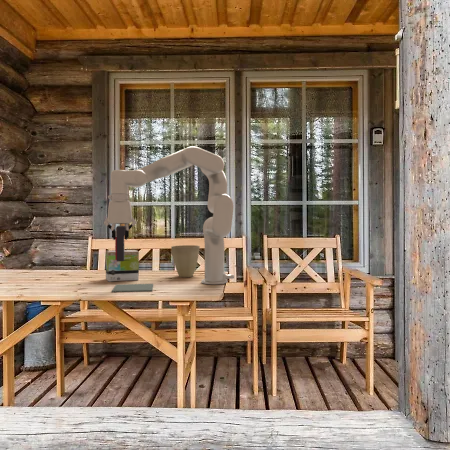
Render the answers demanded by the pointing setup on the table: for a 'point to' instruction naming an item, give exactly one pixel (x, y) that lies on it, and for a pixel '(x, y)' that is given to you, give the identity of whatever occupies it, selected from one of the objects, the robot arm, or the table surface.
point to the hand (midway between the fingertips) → (120, 239)
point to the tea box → (122, 266)
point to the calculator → (119, 243)
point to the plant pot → (185, 259)
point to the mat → (133, 288)
